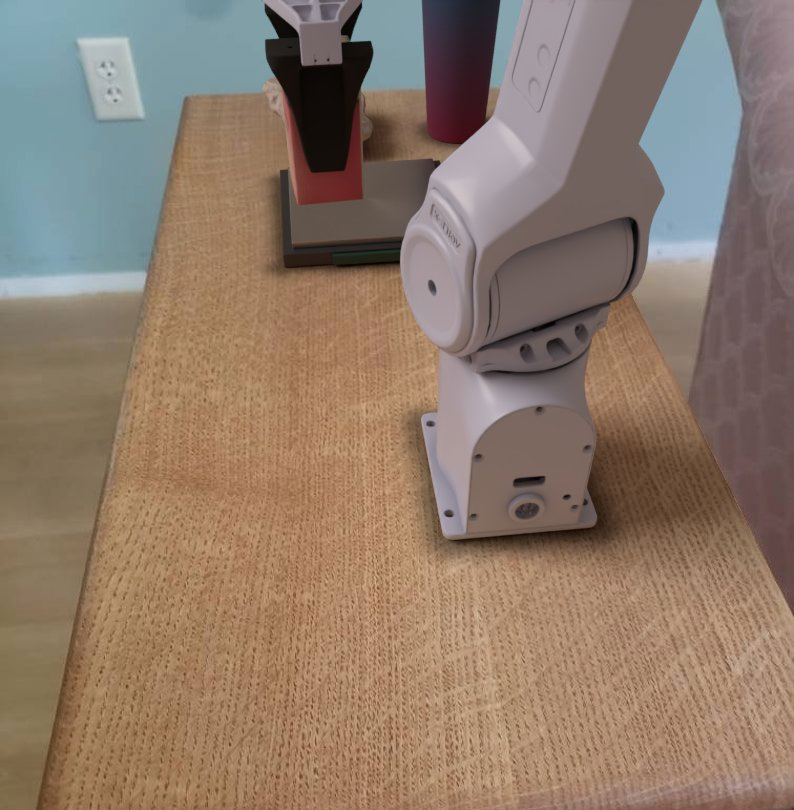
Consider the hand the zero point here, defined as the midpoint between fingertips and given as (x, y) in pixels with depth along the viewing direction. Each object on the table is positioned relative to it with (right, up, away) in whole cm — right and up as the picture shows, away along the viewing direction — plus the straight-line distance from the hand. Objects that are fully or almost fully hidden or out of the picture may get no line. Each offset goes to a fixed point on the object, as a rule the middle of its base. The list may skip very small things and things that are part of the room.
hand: (324, 147), depth 52 cm
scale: (+2, +1, +13) cm, 13 cm away
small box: (0, -2, +2) cm, 3 cm away
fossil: (-2, +11, +22) cm, 25 cm away
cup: (+10, +12, +23) cm, 28 cm away
